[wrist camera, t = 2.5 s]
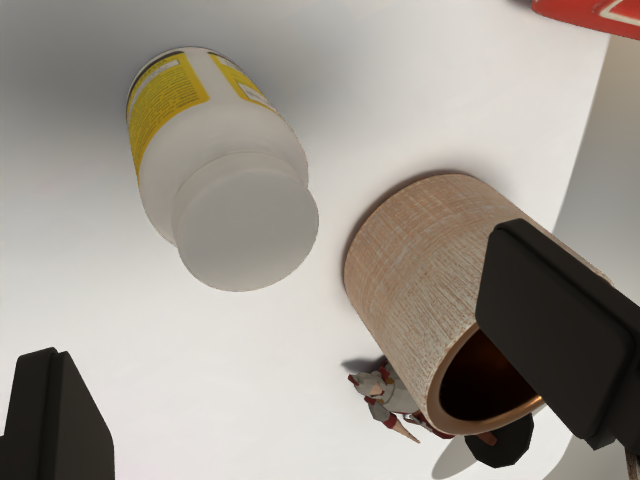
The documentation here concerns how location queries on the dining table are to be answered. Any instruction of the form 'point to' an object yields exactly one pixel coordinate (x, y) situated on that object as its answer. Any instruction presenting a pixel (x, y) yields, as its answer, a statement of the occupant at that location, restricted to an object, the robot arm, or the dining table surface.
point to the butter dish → (595, 14)
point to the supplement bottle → (219, 170)
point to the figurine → (393, 396)
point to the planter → (439, 300)
